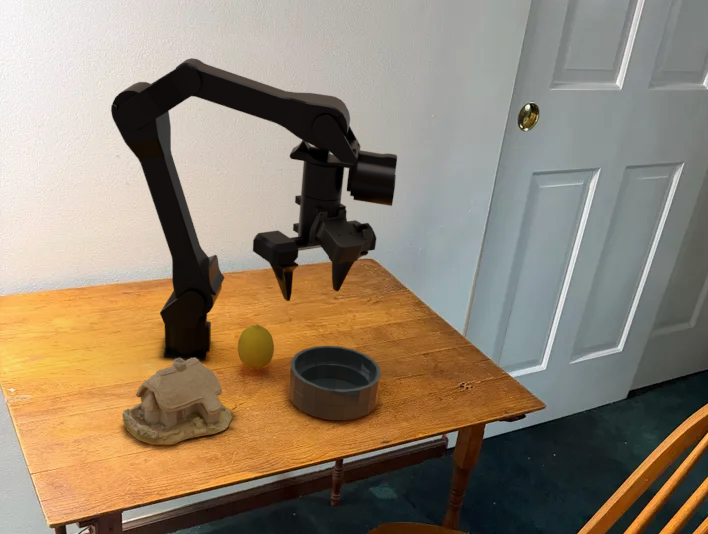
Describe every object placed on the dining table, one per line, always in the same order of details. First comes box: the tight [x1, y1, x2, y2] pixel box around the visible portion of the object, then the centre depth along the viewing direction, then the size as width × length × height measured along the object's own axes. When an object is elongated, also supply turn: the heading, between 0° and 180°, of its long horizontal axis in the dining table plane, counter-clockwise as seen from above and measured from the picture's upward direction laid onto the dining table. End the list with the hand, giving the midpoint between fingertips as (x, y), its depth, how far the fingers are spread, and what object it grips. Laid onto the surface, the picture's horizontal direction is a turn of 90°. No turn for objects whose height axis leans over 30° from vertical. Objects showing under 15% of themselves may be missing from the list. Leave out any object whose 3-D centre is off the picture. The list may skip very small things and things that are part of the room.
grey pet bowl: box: [288, 345, 382, 421], centre depth 120 cm, size 14×14×6 cm
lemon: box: [237, 323, 275, 372], centre depth 122 cm, size 6×6×8 cm
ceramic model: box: [121, 358, 233, 445], centre depth 107 cm, size 14×11×10 cm
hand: (311, 295), depth 121 cm, fingers open, 9 cm apart
